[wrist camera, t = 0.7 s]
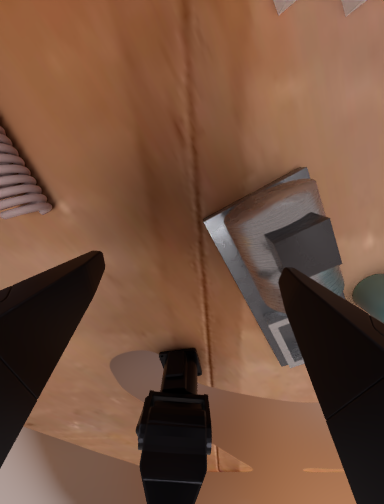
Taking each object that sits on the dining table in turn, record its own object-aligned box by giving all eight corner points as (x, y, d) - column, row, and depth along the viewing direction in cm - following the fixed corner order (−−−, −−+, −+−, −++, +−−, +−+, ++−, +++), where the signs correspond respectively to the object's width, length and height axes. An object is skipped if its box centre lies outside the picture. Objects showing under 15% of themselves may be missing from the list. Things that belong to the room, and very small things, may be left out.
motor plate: (350, 334, 30) (430, 419, 20) (278, 358, 33) (315, 444, 22) (299, 167, 21) (402, 163, 10) (203, 219, 23) (209, 257, 13)
